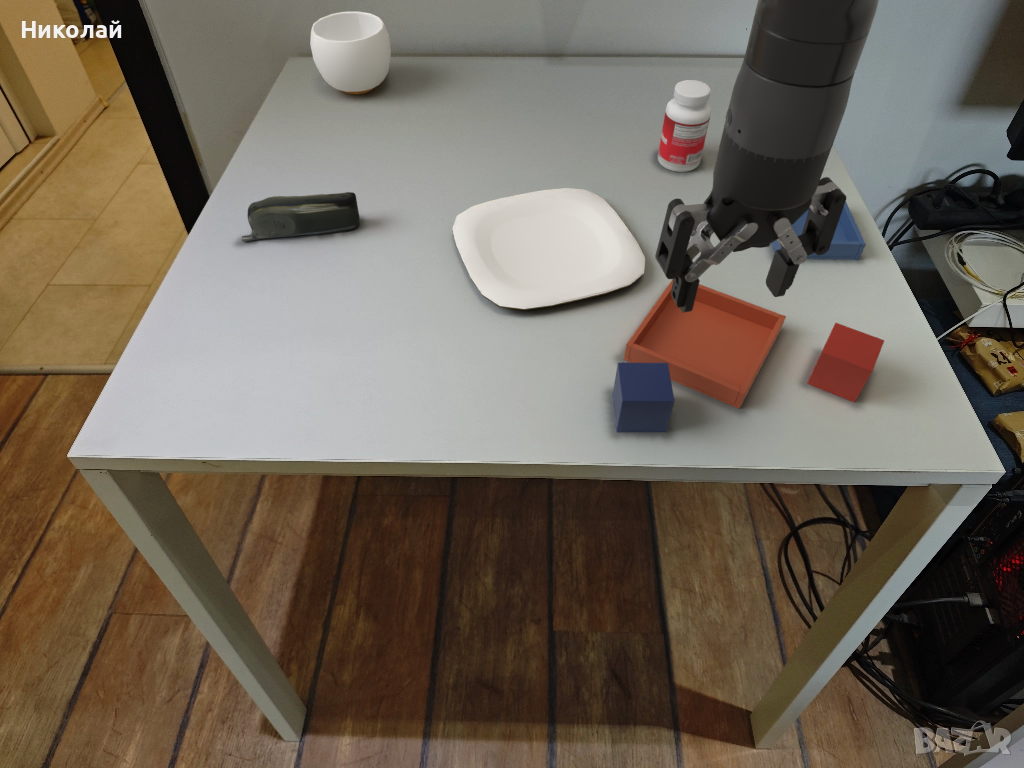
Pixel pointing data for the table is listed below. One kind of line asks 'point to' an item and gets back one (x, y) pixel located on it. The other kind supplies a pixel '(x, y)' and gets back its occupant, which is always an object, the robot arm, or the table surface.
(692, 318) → the terracotta tray
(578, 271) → the plate
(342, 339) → the table surface
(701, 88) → the pill bottle
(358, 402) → the table surface
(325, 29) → the cup
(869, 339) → the red block
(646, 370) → the navy block
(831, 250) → the blue tray
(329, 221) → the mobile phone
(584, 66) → the table surface
